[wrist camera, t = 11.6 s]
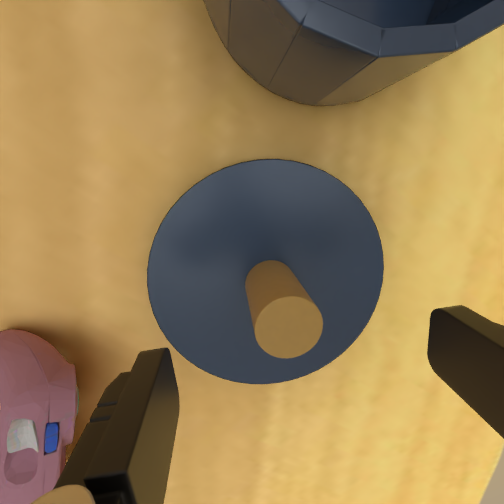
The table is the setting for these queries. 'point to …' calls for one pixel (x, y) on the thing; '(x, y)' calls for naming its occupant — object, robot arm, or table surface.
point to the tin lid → (265, 271)
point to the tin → (345, 41)
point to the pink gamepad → (33, 415)
